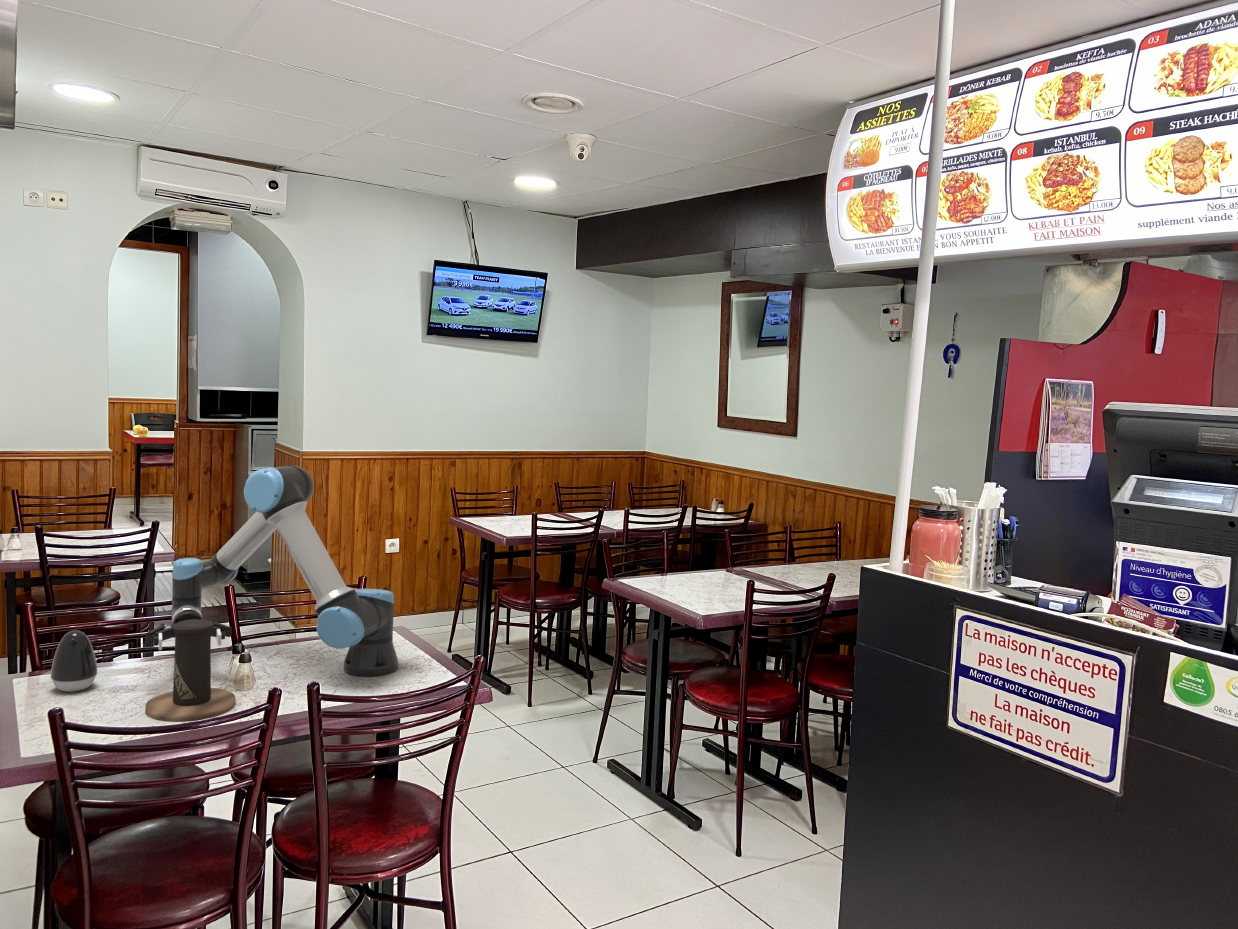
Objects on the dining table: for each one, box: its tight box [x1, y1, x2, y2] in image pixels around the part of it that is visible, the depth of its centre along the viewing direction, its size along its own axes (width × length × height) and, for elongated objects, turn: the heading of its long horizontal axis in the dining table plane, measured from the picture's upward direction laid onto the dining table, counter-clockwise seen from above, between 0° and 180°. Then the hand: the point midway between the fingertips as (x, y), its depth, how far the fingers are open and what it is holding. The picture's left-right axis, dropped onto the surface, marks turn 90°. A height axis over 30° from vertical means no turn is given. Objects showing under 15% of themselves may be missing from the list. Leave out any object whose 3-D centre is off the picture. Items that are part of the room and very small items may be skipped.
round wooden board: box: [144, 687, 236, 722], centre depth 218 cm, size 20×20×2 cm
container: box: [172, 618, 214, 706], centre depth 218 cm, size 9×9×20 cm
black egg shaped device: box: [50, 629, 98, 693], centre depth 226 cm, size 10×10×15 cm
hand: (190, 642), depth 225 cm, fingers open, 13 cm apart
